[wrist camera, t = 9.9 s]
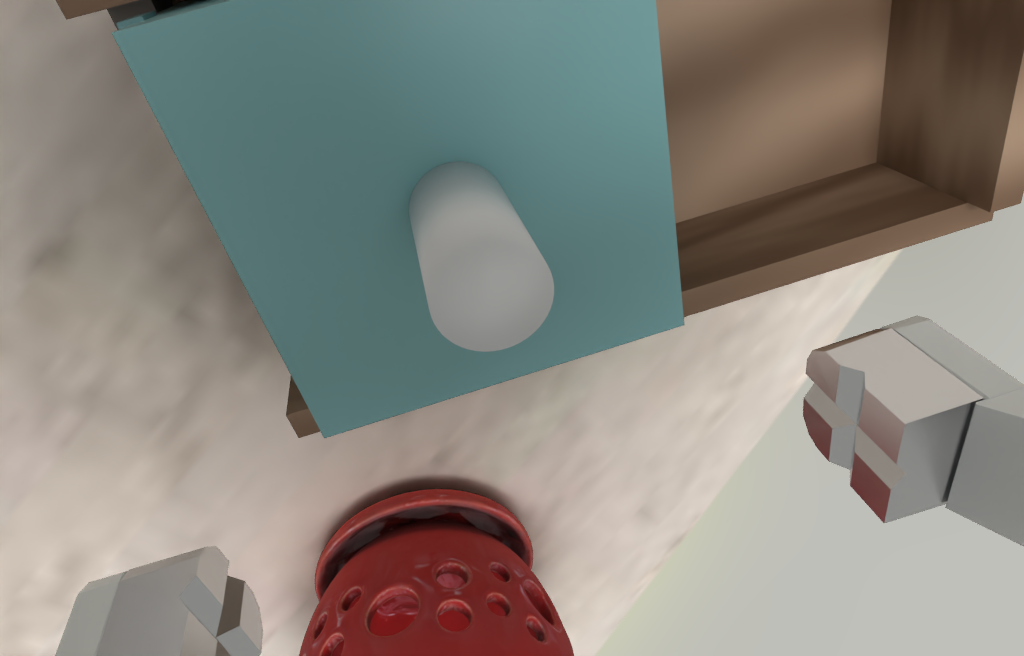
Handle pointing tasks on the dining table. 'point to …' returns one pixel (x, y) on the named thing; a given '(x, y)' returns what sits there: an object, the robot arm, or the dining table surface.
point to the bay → (815, 132)
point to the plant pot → (432, 583)
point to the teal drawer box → (424, 182)
